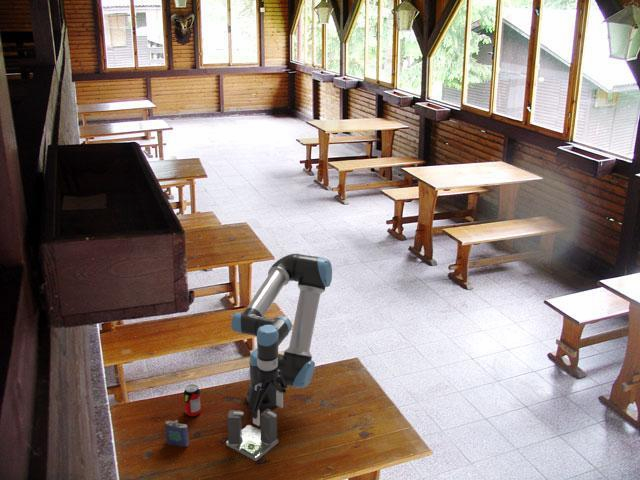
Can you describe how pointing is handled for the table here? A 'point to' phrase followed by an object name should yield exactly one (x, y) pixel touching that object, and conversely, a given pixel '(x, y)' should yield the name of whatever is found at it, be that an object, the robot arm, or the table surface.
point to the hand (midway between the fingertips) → (268, 415)
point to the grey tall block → (268, 426)
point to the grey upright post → (234, 427)
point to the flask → (176, 434)
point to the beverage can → (192, 400)
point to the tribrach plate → (252, 443)
